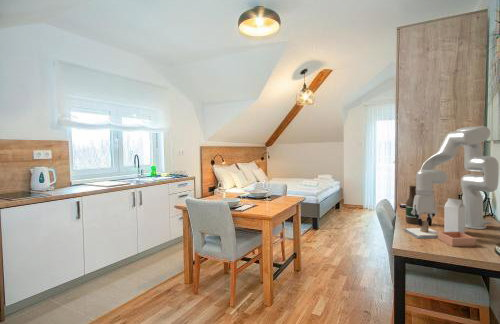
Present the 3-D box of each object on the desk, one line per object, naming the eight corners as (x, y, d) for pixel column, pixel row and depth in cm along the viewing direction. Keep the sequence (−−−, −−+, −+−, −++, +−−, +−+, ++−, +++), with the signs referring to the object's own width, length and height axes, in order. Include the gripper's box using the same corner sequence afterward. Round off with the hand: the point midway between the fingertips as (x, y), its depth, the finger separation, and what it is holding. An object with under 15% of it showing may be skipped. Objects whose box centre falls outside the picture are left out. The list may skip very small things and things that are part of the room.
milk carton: (458, 235, 152) (458, 200, 152) (444, 231, 159) (444, 198, 158) (465, 232, 156) (465, 199, 155) (451, 229, 162) (451, 197, 161)
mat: (430, 229, 164) (430, 228, 164) (448, 238, 148) (448, 237, 148) (402, 230, 164) (402, 229, 164) (417, 238, 148) (417, 237, 148)
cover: (429, 229, 162) (429, 217, 162) (443, 236, 149) (443, 223, 149) (406, 229, 163) (406, 218, 162) (419, 236, 150) (419, 224, 149)
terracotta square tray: (459, 239, 146) (459, 231, 146) (475, 246, 135) (475, 238, 135) (437, 239, 146) (437, 231, 146) (452, 246, 135) (452, 238, 135)
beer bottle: (419, 225, 173) (419, 187, 172) (405, 223, 177) (405, 186, 176) (419, 222, 180) (419, 185, 179) (406, 220, 184) (405, 184, 183)
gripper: (435, 191, 158) (435, 223, 159) (405, 192, 159) (405, 223, 160) (444, 193, 151) (444, 227, 152) (412, 194, 151) (412, 227, 152)
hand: (424, 225), depth 156 cm, fingers open, 4 cm apart
